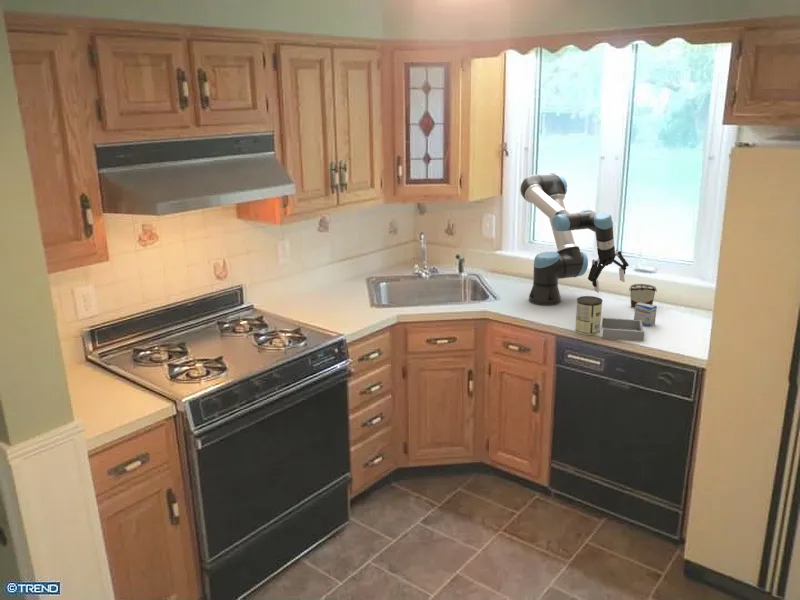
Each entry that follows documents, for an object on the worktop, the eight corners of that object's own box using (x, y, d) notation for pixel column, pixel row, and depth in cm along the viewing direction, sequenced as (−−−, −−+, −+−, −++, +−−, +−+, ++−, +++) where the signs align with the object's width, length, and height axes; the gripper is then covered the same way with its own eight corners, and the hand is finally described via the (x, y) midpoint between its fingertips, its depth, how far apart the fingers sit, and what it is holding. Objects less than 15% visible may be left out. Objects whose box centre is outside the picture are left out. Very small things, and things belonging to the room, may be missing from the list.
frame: (602, 338, 281) (602, 329, 280) (601, 326, 295) (602, 317, 294) (643, 341, 277) (644, 332, 276) (640, 329, 291) (641, 320, 290)
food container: (651, 304, 324) (653, 283, 321) (655, 307, 318) (657, 287, 315) (625, 303, 325) (626, 283, 322) (627, 307, 319) (629, 287, 316)
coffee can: (578, 325, 296) (580, 294, 292) (602, 329, 291) (605, 297, 287) (571, 332, 288) (573, 300, 284) (596, 336, 283) (598, 304, 279)
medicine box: (633, 322, 299) (634, 303, 296) (638, 320, 302) (639, 301, 299) (650, 326, 293) (652, 307, 291) (655, 324, 296) (657, 305, 294)
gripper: (586, 259, 301) (591, 299, 312) (634, 239, 306) (637, 279, 316) (577, 253, 308) (581, 292, 318) (624, 233, 312) (627, 273, 323)
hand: (609, 286), depth 317 cm, fingers open, 13 cm apart
